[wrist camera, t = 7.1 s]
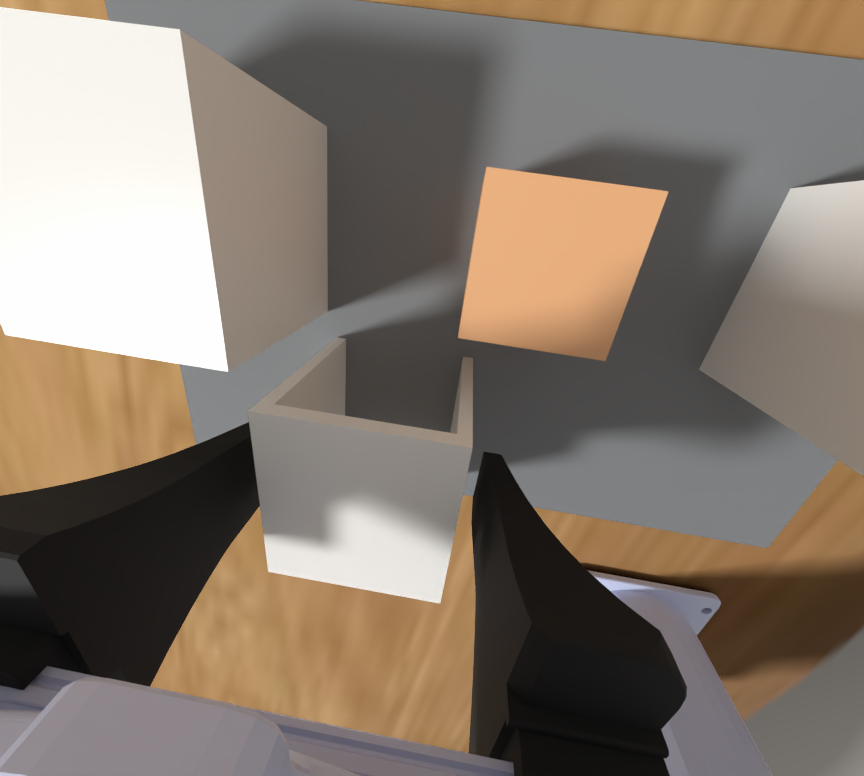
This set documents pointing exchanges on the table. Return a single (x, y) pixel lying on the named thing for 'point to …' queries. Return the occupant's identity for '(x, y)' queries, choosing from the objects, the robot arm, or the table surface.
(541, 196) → the cube
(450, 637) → the table surface
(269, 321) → the arch left
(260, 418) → the white u-channel shell
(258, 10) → the mat
